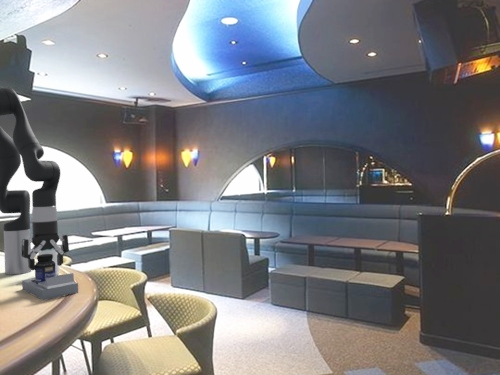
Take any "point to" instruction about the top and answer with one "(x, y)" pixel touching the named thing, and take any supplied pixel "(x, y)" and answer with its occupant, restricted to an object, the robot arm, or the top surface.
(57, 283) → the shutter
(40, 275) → the pill bottle
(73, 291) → the socket plate
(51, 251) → the can
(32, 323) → the top surface
